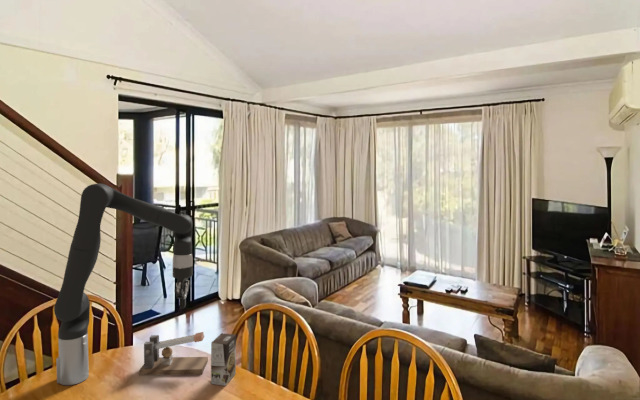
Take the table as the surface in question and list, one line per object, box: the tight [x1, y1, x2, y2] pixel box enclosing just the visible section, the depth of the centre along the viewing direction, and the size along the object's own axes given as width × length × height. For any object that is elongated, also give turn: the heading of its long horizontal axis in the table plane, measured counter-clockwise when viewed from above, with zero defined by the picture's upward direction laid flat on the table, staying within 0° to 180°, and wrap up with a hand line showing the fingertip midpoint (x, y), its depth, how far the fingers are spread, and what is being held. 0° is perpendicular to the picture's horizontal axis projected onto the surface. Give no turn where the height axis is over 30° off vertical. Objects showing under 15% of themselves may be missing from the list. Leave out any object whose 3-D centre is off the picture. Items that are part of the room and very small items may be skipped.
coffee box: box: [210, 332, 237, 387], centre depth 145 cm, size 9×6×16 cm
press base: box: [138, 334, 209, 376], centre depth 152 cm, size 24×10×12 cm, turn 94°
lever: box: [154, 331, 205, 350], centre depth 152 cm, size 22×4×2 cm, turn 93°
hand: (182, 307), depth 152 cm, fingers closed
